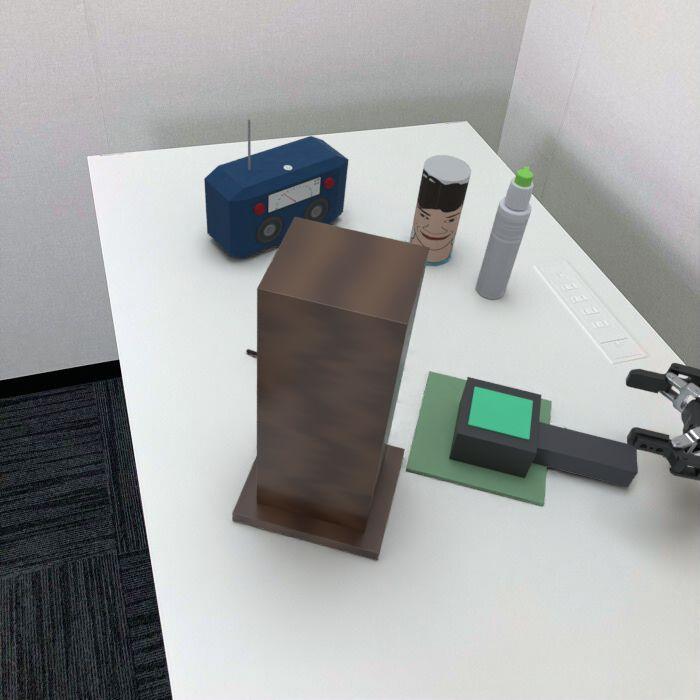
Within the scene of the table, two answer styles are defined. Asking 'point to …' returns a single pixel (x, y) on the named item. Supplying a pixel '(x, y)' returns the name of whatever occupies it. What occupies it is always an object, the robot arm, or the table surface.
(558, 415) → the table surface
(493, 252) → the bottle
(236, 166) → the radio
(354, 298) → the stand
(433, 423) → the mat
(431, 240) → the printed can
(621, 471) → the green-topped block with handle
